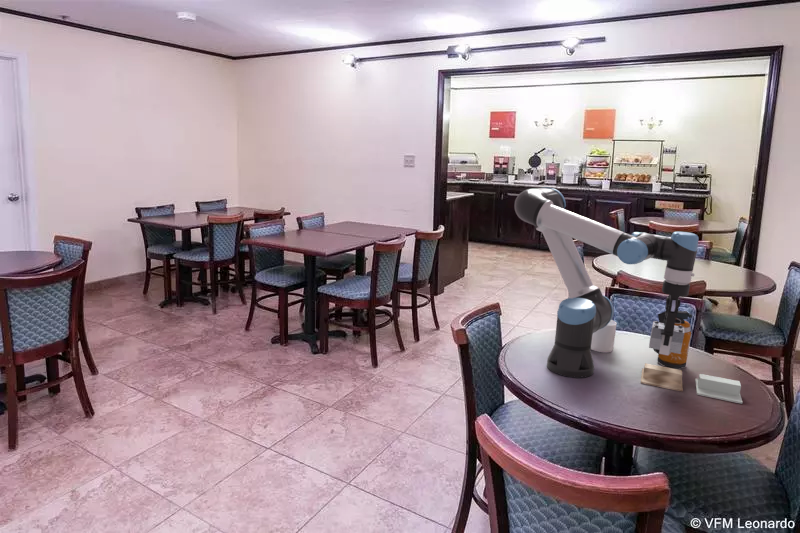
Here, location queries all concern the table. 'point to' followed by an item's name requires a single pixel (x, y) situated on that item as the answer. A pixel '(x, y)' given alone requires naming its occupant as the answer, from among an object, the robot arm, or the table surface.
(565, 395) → the table surface
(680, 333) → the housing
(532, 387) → the table surface
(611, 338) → the mug
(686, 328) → the canister
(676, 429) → the table surface
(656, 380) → the stand
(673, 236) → the robot arm
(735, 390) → the stand
